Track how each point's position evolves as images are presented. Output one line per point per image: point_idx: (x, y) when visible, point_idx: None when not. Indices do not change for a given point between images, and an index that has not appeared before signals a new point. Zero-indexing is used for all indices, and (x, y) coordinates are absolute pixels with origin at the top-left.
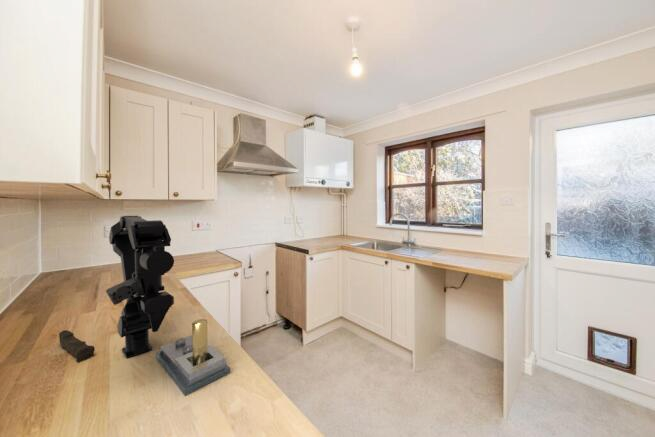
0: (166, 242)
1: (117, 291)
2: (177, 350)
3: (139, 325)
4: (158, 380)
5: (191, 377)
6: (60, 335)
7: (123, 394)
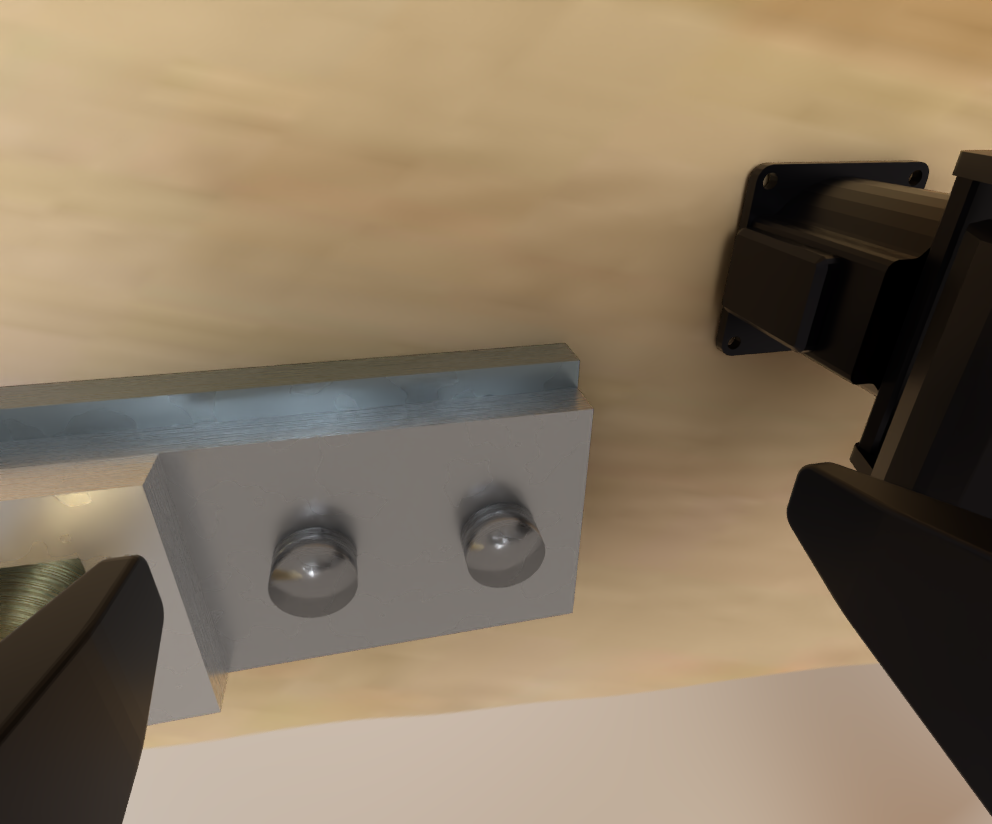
0: None
1: None
2: (407, 502)
3: (925, 367)
4: (199, 293)
5: None
6: None
7: (153, 8)
